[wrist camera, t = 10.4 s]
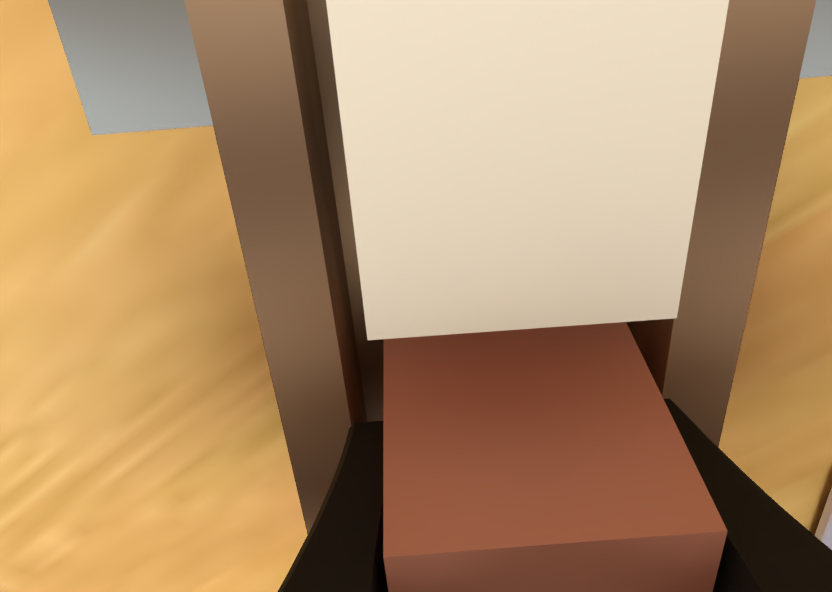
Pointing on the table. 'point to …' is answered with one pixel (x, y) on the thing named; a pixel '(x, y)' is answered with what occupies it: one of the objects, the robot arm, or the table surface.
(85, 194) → the table surface
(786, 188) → the table surface
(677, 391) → the jig
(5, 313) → the table surface
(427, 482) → the block
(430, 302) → the cream rectangular block
